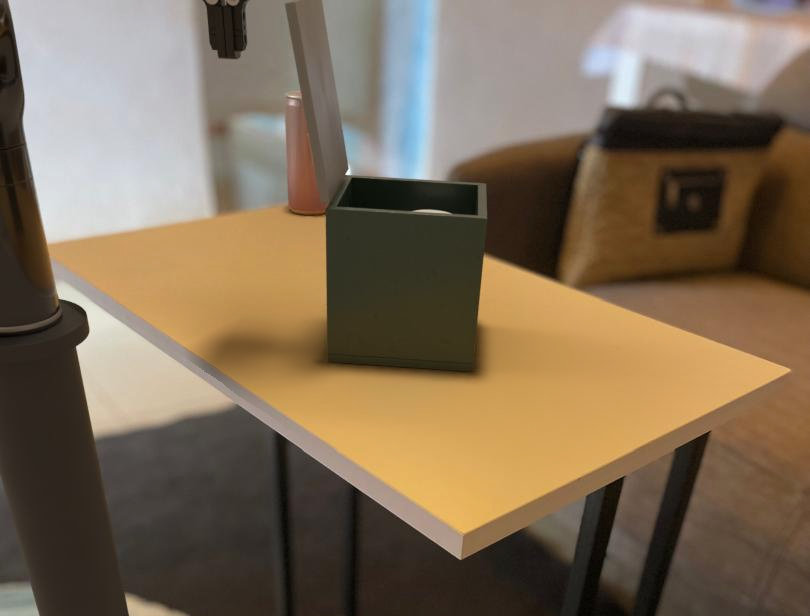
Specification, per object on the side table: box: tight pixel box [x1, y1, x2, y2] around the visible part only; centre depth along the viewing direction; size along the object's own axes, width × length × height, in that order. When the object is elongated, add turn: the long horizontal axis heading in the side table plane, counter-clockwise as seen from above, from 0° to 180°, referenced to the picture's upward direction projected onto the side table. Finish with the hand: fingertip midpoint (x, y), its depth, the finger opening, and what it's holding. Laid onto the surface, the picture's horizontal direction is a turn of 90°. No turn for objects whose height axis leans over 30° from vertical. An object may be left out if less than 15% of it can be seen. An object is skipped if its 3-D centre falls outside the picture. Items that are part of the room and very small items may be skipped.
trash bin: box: [325, 174, 488, 373], centre depth 79 cm, size 14×13×14 cm
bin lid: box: [284, 0, 349, 203], centre depth 71 cm, size 14×13×1 cm
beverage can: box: [284, 90, 329, 216], centre depth 117 cm, size 6×6×15 cm
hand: (230, 57), depth 70 cm, fingers closed
